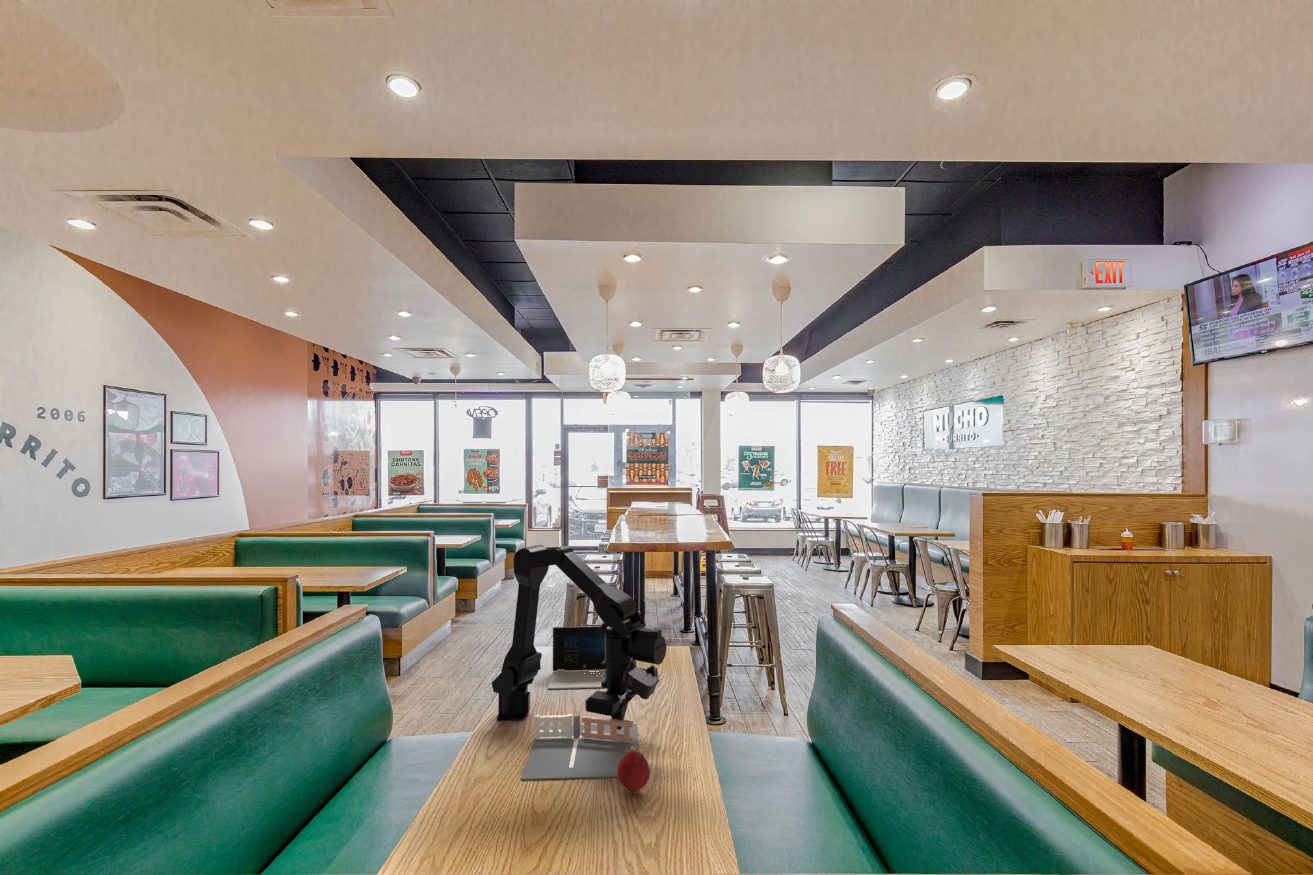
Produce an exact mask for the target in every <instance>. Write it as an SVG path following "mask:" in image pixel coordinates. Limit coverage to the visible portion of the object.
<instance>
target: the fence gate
mask: <svg viewBox="0 0 1313 875" xmlns="http://www.w3.org/2000/svg"><path fill="white" fill-rule="evenodd" d="M581 723H584V724H583V725H584V730H583V731H582V736H583V737H585V738H590V737H592V738H597V739H602V740H603V739H609V740H610V741H616V740H617V741H624V742H627V743H629V742H633V736H630V727H631V728H632V727H633V724H634V721H633V720H628V719H624V720H617V719H612V718H605V717H600V716H599V717H595V716H589V715H583V716H582V717H581V715H580V714H578V713H575V714H574V715H573V723H572V725H573V737H574V738H579V737H580V725H581ZM592 724H594V725H597V732H595V731H591V725H592ZM604 725H610V733H604ZM617 726H622V727H624V735H621V734H617Z"/></svg>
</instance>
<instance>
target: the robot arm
mask: <svg viewBox="0 0 1313 875" xmlns="http://www.w3.org/2000/svg"><path fill="white" fill-rule="evenodd" d="M549 566H556V567H557V568H558V569H559V570H560V571H561V572H562V573H563V574H564V575H565V576H566V577H568V579H570V581H571V582H573V584H575V586H577V588H579V590H581V592H582V593H583V594H585V596H586V597H588V598H589V599H590V601H591V603H592V604H593V607H594V608H593V609H594V611H595V613H596V614H597V616H598V617H599V619H600V620H601V621H602V622H603V623H602V624H601V625H600V626H601V627H600V628H599V629H598V630H596V634H600V635H605V660H604V661H603V662H602V663H601V668H605V680H604V681H602V682H601V687H605V689H606V690H605V691H604V690H603V691H601V690H596V691H595V692H593V694H591V695H590V696H589V697H588V698H586V700H585V703H584V704H585V711H586V712H588V713H593V714H598V715H604V716H607V717H610V719H617V720H625V716H626V713H627V708H628V706H629V703H630V701H631V700H633V698H635V697H636V696H639V697H640V698H641V699H642V700H648V699H649V698H650V697H651V696H652V695H653V694H654V693H655V690H656V688H657V685H658V684H659V683H660V679H659V678H660V676H659V672H658V667H657V666H659V665H661V664H662V663H663V662H664V660H665V658H666V655H667V654H666V653H667V648H668V647H667V643H666V639H665V636H663V633H662V632H663V631H662V630H661V629H658V628H647V627H646V623H645V621H644V619H643V617H642V615H641V614H640V612H639V611H638V609H637V606H636V605H637V604H636V601H635V599H634V598H632V596H630V595H629V594H627V593H626V592H624V591H623V590H622V589H620V588H617V587H615V586H612V585H610V584H609V583H607V582H606V581H605V580H603V579H602V577H601V576H599V575H598V573H596V572H595V571H594V570H593V569H592V568H591V567H590V566H589V565H588V564H587V563H586V562H585V561H584V560H583V559H581V557H580V556H579V555H578V554H577V553H576V552H575V551H574V549H573V547H571V546H570V545H561V546H554V547H553V546H552V547H546V546H545V545H542V544H536V545H531V546H527V547H522V548H519V549H518V550H517V551H515V553H514V555H513V575H514V577H515V579H516V581H517V584H518V588H517V598H516V606H515V615H514V625H513V635H512V642H511V646H510V647H509V649H508V651H507V653H506V654H505V656H504V659H503V663H502V666H501V671H500V673H499V674H498V675H497V676H496V678H495V679H493V681H492V682H491V686H492V691H493V693H496V694H498V714H497V716H496V720H497V721H508V720H509V721H510V720H511V721H512V720H519V721H520V720H525V719H526V717H527V714H529V712H530V709H531V691H529V688H528V686H529V685H532V684H533V682H534V679H535V677H536V676H537V675H538V673H539V671H540V670H541V669H542V666H541V660H542V652H539V651H537V649H536V647H535V636H536V635H535V633H536V628H537V627H536V626H537V619H538V618H537V616H538V608H539V599H540V589H541V585H542V583H543V581H544V579H545V577H546V575H547V574H548V572H549V568H550V567H549ZM627 622H630V623H628V624H626V625H625V623H627ZM637 662H640V663H641V662H642V663H648V664H650V665H649V666H648V667H647V668H645V667H638V666H637ZM655 665H657V666H655ZM617 729H618V730H621V729H622V726H617Z"/></svg>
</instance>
